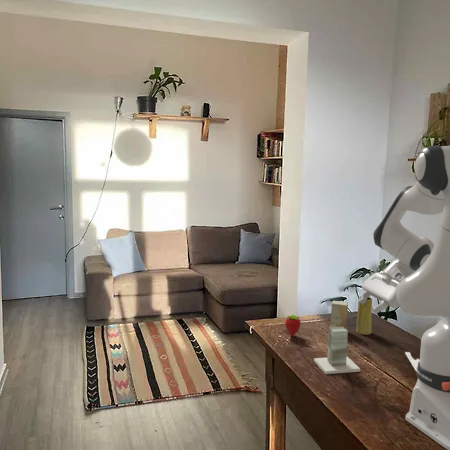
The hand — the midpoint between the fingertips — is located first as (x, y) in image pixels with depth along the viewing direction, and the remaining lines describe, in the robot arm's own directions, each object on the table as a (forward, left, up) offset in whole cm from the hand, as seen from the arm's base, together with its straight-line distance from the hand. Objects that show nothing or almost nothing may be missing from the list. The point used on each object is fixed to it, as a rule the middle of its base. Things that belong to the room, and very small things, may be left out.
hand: (367, 307), depth 152 cm
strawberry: (+28, +16, -20) cm, 38 cm away
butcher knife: (-2, -19, -21) cm, 28 cm away
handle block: (0, +10, -19) cm, 21 cm away
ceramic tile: (0, +10, -20) cm, 22 cm away
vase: (+28, -14, -20) cm, 37 cm away
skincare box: (+30, -4, -20) cm, 36 cm away
